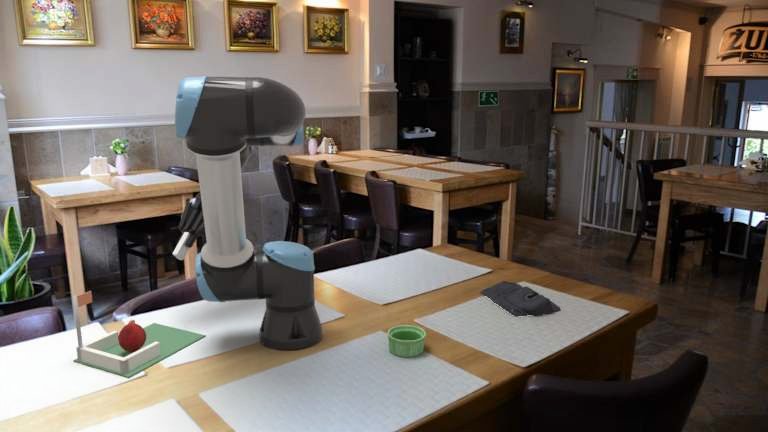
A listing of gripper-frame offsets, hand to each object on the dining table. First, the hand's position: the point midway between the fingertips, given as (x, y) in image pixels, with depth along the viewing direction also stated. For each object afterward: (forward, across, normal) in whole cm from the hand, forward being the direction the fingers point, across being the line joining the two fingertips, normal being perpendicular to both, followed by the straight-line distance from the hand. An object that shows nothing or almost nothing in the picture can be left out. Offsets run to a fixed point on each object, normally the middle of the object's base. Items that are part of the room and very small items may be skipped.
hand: (177, 257), depth 142 cm
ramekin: (+4, -56, -23) cm, 61 cm away
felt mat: (+22, 0, -4) cm, 23 cm away
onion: (+25, -1, -2) cm, 25 cm away
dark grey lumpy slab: (-26, -73, -53) cm, 94 cm away
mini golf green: (+27, 0, 0) cm, 27 cm away
